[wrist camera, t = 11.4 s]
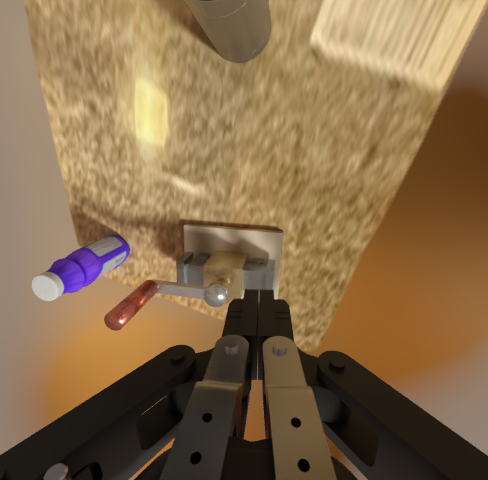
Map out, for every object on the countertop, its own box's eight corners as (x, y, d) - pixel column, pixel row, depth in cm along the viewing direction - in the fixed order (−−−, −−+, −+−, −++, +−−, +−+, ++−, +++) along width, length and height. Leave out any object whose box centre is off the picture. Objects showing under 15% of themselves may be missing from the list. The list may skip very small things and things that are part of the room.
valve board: (188, 290, 55) (185, 294, 53) (186, 223, 51) (183, 225, 49) (277, 300, 52) (276, 304, 51) (283, 231, 48) (283, 233, 47)
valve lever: (227, 302, 41) (208, 348, 31) (147, 291, 42) (105, 331, 32) (228, 283, 40) (209, 324, 30) (146, 272, 41) (103, 308, 32)
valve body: (189, 275, 52) (168, 300, 43) (189, 247, 50) (167, 268, 41) (273, 284, 50) (270, 313, 40) (275, 255, 48) (272, 278, 39)
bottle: (116, 227, 53) (39, 258, 37) (137, 248, 54) (71, 288, 37) (96, 250, 55) (15, 289, 39) (117, 270, 56) (46, 317, 39)
